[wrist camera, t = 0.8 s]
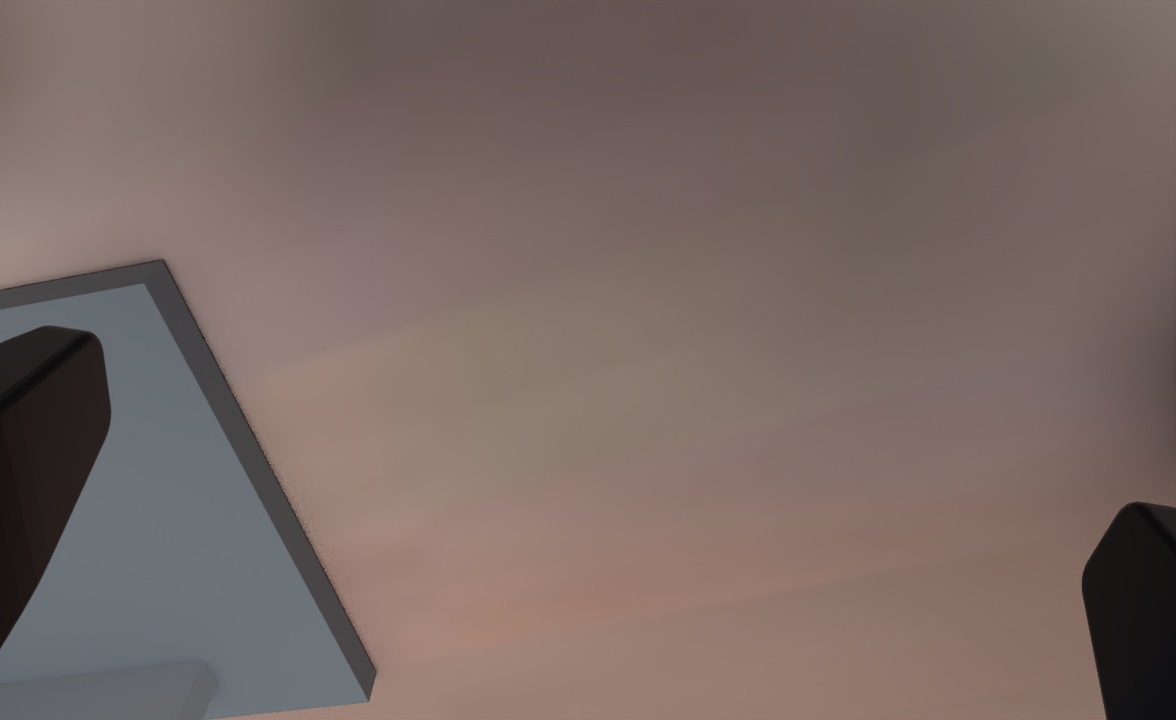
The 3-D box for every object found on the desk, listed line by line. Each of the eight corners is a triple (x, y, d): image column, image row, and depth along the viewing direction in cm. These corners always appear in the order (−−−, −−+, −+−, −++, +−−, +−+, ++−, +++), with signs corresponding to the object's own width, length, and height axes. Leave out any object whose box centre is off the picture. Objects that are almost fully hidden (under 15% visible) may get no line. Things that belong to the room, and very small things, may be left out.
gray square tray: (162, 260, 22) (90, 350, 19) (376, 673, 29) (347, 782, 26) (-372, 360, 24) (-511, 454, 21) (-44, 720, 32) (-112, 826, 29)
